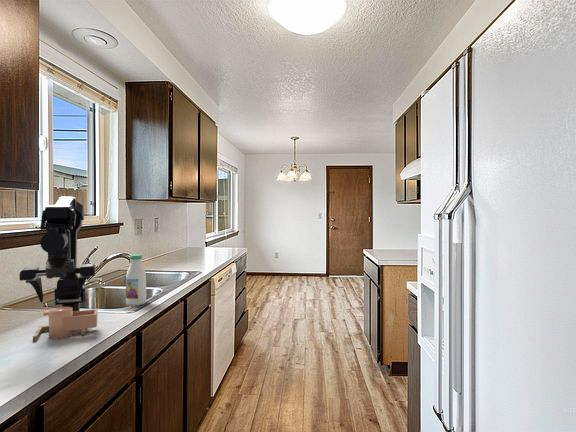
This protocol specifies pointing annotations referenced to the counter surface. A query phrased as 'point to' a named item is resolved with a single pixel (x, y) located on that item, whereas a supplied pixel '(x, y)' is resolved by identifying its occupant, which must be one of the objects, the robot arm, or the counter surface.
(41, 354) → the counter surface
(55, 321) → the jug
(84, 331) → the cradle
